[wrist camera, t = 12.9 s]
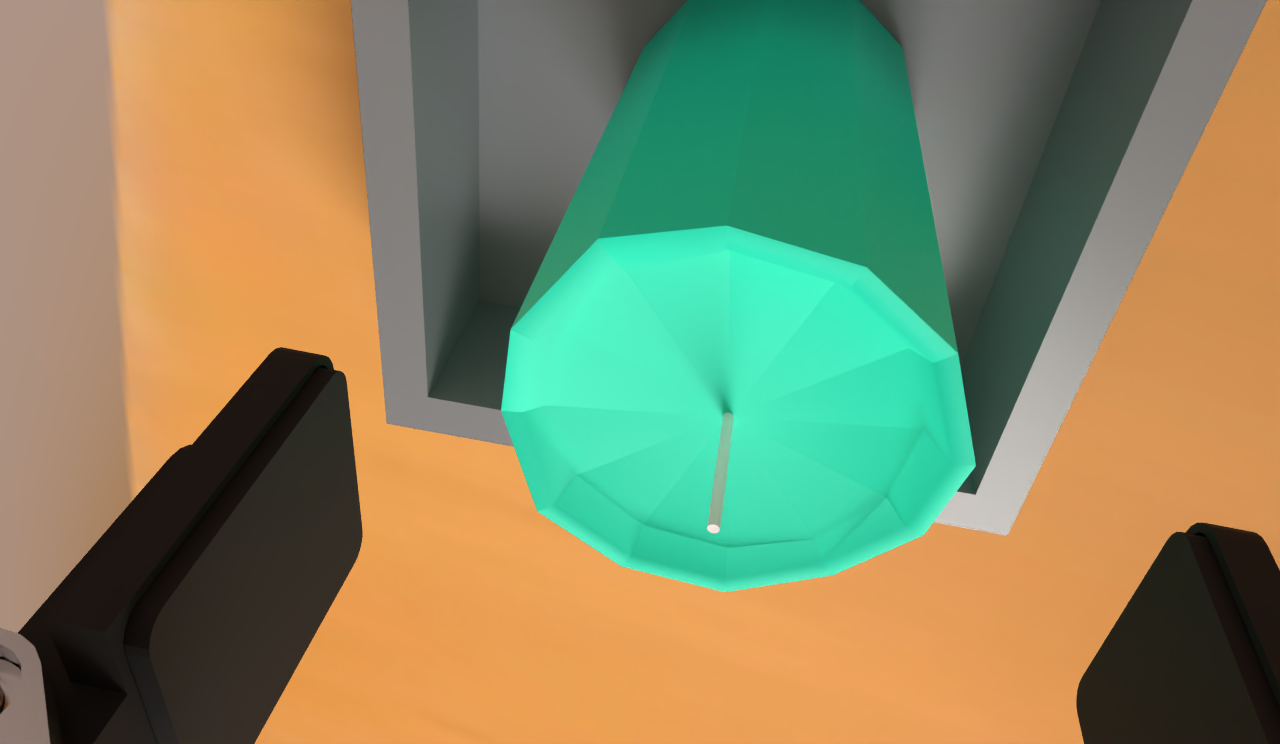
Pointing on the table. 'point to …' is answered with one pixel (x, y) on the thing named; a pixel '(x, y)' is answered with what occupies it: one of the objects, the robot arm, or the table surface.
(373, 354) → the table surface
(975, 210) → the bin
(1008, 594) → the table surface
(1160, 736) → the robot arm
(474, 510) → the table surface
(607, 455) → the candle
